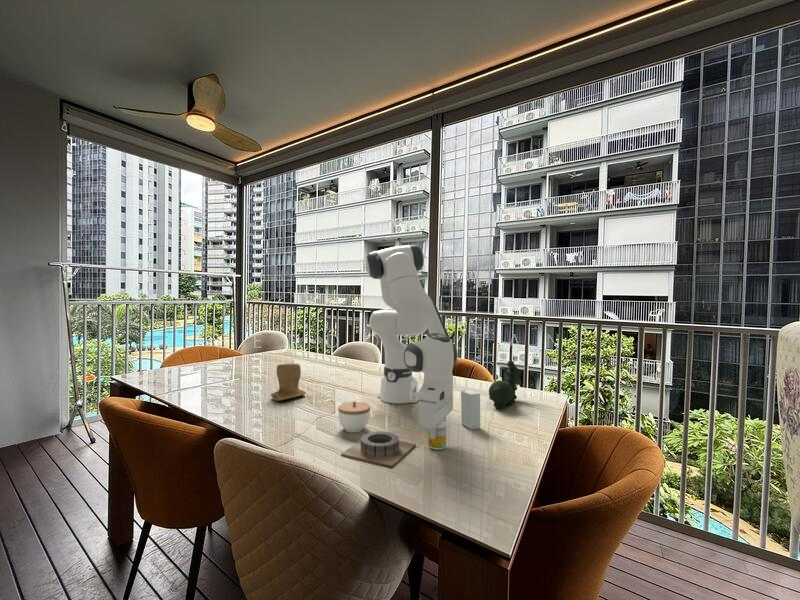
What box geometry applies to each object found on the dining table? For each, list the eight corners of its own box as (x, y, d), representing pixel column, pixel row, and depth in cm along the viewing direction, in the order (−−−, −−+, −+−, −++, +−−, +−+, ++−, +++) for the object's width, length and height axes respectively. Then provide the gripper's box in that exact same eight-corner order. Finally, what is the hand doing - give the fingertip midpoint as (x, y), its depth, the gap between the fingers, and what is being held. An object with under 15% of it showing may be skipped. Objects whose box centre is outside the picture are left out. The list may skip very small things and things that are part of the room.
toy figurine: (501, 400, 169) (481, 409, 148) (503, 358, 170) (484, 361, 149) (522, 404, 164) (505, 414, 143) (524, 361, 165) (507, 364, 144)
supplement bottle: (426, 442, 115) (427, 411, 114) (444, 442, 115) (444, 411, 115) (429, 450, 109) (430, 417, 109) (447, 450, 110) (448, 417, 110)
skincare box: (480, 428, 129) (481, 393, 129) (470, 430, 127) (471, 394, 127) (470, 422, 135) (470, 389, 134) (459, 424, 133) (460, 390, 132)
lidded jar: (343, 437, 119) (344, 408, 118) (333, 426, 128) (334, 399, 128) (374, 432, 124) (375, 404, 123) (362, 422, 133) (363, 395, 133)
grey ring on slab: (369, 436, 120) (370, 425, 120) (415, 446, 113) (415, 434, 113) (341, 455, 105) (341, 442, 105) (391, 468, 98) (391, 454, 98)
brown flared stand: (292, 391, 172) (293, 359, 171) (309, 396, 165) (310, 362, 164) (263, 398, 159) (263, 363, 159) (280, 404, 152) (280, 367, 152)
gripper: (439, 379, 122) (438, 421, 123) (415, 395, 104) (414, 444, 104) (458, 382, 120) (457, 424, 120) (436, 398, 101) (435, 448, 102)
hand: (437, 433), depth 112 cm, fingers closed on supplement bottle, 5 cm apart
